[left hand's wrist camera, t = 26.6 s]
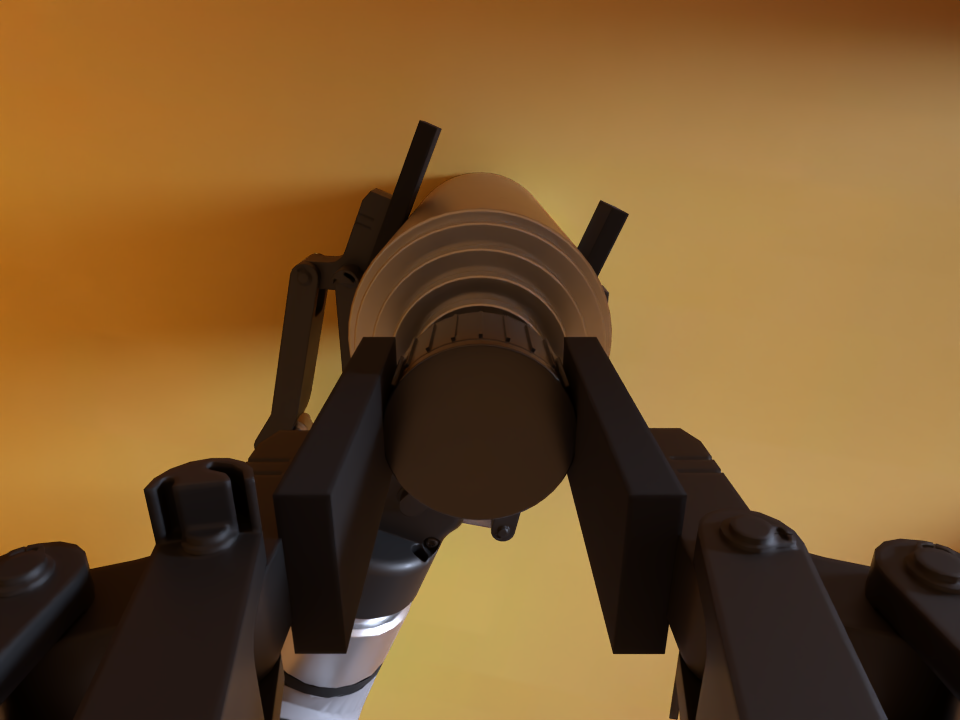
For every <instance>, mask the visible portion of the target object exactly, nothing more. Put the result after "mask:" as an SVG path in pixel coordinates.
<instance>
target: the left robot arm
mask: <svg viewBox="0 0 960 720" xmlns="http://www.w3.org/2000/svg"><path fill="white" fill-rule="evenodd" d="M396 367H397V355H396V337H363V338H362V340H361V341H360V343H359V345H358V347H357V348H356V350H355V352H354V354H353V355H352V357H351V359H350V361H349V362H348V364H347V366H346V367H345V369H344V371H343V373H342V374H341V376H340V378H339V380H338V381H337V383H336V385H335V387H334V388H333V390H332V392H331V394H330V395H329V397H328V399H327V401H326V402H325V404H324V406H323V408H322V409H321V411H320V413H319V415H318V416H317V418H316V420H315V422H314V423H313V425H312V427H311V429H310V430H279V431H278V432H276V433H275V434H273V435H271V436H270V437H268V438H267V439H265V440H264V441H262V442H261V443H259V444H258V446H257V447H256V449H255V450H254V451H253V453H252V454H251V456H250V457H249V458H248V462H246V463H245V462H243V461H239V460H235V459H231V458H209V459H203V460H198V461H192V462H188V463H186V464H183V465H180V466H177V467H174V468H171V469H169V470H168V471H166V472H164V473H162V474H161V475H159V476H157V477H156V478H154V479H153V480H152V481H151V482H150V483H149V484H148V485H147V486H146V487H145V489H144V494H145V498H146V502H147V507H148V511H149V515H150V520H151V524H152V528H153V533H154V537H155V542H156V545H155V547H154V549H153V551H152V554H151V556H148V557H145V558H141V559H137V560H133V561H128V562H123V563H118V564H113V565H108V566H103V567H98V568H93V569H90V568H89V564H88V561H87V557H86V554H85V552H84V551H83V550H82V549H81V548H80V547H79V546H77V545H76V544H71V543H65V542H49V543H38V544H33V545H28V546H27V547H21V548H18V549H15V550H12V551H10V552H9V553H7V554H5V555H2V556H0V720H280V714H281V705H282V697H283V689H284V680H285V678H284V670H283V663H282V656H281V650H282V648H283V645H284V642H285V640H286V637H287V635H288V632H289V629H290V627H291V630H292V637H293V644H294V651H295V654H346V653H347V650H348V646H349V642H350V638H351V634H352V630H353V626H354V622H355V618H356V614H357V610H358V607H359V603H360V599H361V595H362V591H363V587H364V583H365V579H366V575H367V571H368V567H369V564H370V560H371V556H372V552H373V548H374V544H375V540H376V536H377V532H378V528H379V524H380V521H381V517H382V513H383V509H384V505H385V501H386V497H387V493H388V489H389V485H390V482H391V478H392V474H393V473H392V471H391V469H390V468H389V465H388V463H387V460H386V458H385V451H384V435H383V412H384V409H385V406H386V403H387V400H388V397H389V394H390V391H391V387H390V384H391V381H392V378H393V375H394V373H395V370H396ZM563 367H564V370H565V373H566V376H567V379H568V381H569V384H570V387H571V388H570V389H569V392H570V395H571V397H572V400H573V403H574V406H575V410H576V414H577V429H576V445H575V457H574V460H573V462H572V465H571V467H570V469H569V471H568V473H567V475H568V479H569V483H570V487H571V491H572V495H573V499H574V503H575V506H576V510H577V514H578V518H579V522H580V526H581V530H582V534H583V538H584V542H585V546H586V549H587V553H588V557H589V561H590V565H591V569H592V573H593V577H594V581H595V585H596V589H597V592H598V596H599V600H600V604H601V608H602V612H603V616H604V620H605V624H606V628H607V632H608V635H609V639H610V643H611V647H612V651H613V654H665V649H666V641H667V634H668V627H669V625H670V627H671V630H672V633H673V635H674V638H675V640H676V643H677V646H678V648H679V656H678V663H677V669H676V676H675V683H674V689H673V696H672V702H671V709H670V717H669V718H670V719H676V720H677V719H678V714H679V712H680V720H960V553H958V552H956V551H953V550H952V549H950V548H948V547H945V546H942V545H939V544H933V543H932V542H927V541H920V540H909V539H896V540H890V541H885V542H883V543H882V544H881V545H880V546H878V547H877V548H876V549H875V552H874V555H873V559H872V563H871V566H865V565H860V564H855V563H850V562H845V561H840V560H835V559H830V558H825V557H822V556H818V555H814V554H810V553H808V550H807V548H806V546H805V544H804V543H803V541H802V540H801V539H800V537H799V536H798V535H797V534H796V532H795V531H794V530H792V529H791V528H789V527H788V526H786V525H785V524H783V523H782V522H781V521H779V520H777V519H774V518H772V517H770V516H767V515H765V514H762V513H760V512H755V511H750V510H749V508H748V507H747V505H746V504H745V503H744V501H743V500H742V498H741V497H740V496H739V494H738V493H737V491H736V490H735V489H734V487H733V486H732V484H731V483H730V482H729V480H728V479H727V477H726V476H725V475H724V473H721V469H720V468H719V466H718V465H717V463H716V462H715V461H714V460H712V456H711V455H710V454H709V452H708V451H707V450H706V448H705V447H704V445H703V444H702V443H701V441H699V440H698V439H696V438H695V437H693V436H692V435H690V434H688V433H687V432H685V431H684V430H682V429H681V428H648V426H647V424H646V422H645V421H644V419H643V417H642V415H641V414H640V412H639V410H638V408H637V407H636V405H635V403H634V401H633V400H632V398H631V396H630V394H629V393H628V391H627V389H626V387H625V386H624V384H623V382H622V380H621V379H620V377H619V375H618V373H617V372H616V370H615V368H614V366H613V365H612V363H611V361H610V359H609V358H608V356H607V354H606V352H605V351H604V349H603V347H602V346H601V344H600V342H599V340H598V339H597V337H564V348H563Z"/></svg>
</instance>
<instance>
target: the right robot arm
mask: <svg viewBox="0 0 960 720" xmlns="http://www.w3.org/2000/svg"><path fill="white" fill-rule="evenodd" d="M440 132H441V128H439V127H437V126H434V125H432V124H430V123H428V122H425V121H421V120H420V121H419V123H418V126H417V129H416V132H415V134H414V137H413V140H412V143H411V146H410V148H409V151H408V154H407V157H406V159H405V162H404V165H403V168H402V171H401V173H400V176H399V179H398V182H397V184H396V187H395V190H394V193H393V195H391V194H389V193H386V192H384V191H382V190H379V189H377V188H376V189H374V190H372V191H370V193H369V194H368V195H367V196H366V197H365V198H364V199H363V200H362V203H361V206H360V209H359V212H358V215H357V218H356V221H355V224H354V226H353V229H352V232H351V235H350V238H349V241H348V244H347V247H346V250H345V252H344V254H343V255H341V256H324V255H322V254H316V253H315V254H312V255H310V256H309V257H307V258H306V259H304V260H303V261H302V262H300V263H299V264H297V265H296V266H295V267H294V268H293V269H292V271H291V274H290V280H289V287H288V294H287V302H286V309H285V316H284V324H283V331H282V339H281V346H280V353H279V361H278V368H277V375H276V383H275V390H274V397H273V405H272V412H271V416H270V417H269V419H268V421H267V422H266V424H265V425H264V427H263V429H262V430H261V432H260V434H259V435H258V437H257V439H256V440H255V443H254V448H255V449H256V447H257V446H258V444H259V443H261V442H262V441H264V440H265V439H267V438H268V437H270V436H271V435H273V434H275V433H276V432H278V431H279V430H310V429H311V427H312V425H313V423H312V420H311V419H310V415H309V414H307V413H303V412H304V410H305V408H306V407H307V404H308V402H309V399H310V395H311V391H312V384H313V378H314V372H315V366H316V359H317V353H318V347H319V341H320V334H321V328H322V322H323V316H324V309H325V303H326V297H327V290H328V289H330V290H335V292H336V303H337V315H338V326H339V338H340V350H341V361H342V373H343V371H344V369H345V367H346V366H347V364H348V362H349V361H350V359H351V356H350V350H349V341H348V326H349V317H350V310H351V305H352V302H353V299H354V295H355V292H356V289H357V287H358V285H359V283H360V281H361V279H362V276H363V274H364V273H365V271H366V270H367V268H368V267H369V265H370V264H371V262H372V261H373V259H374V258H375V257H376V256H377V255H378V253H379V252H380V251H381V250H382V249H383V248H384V246H385V245H386V244H387V243H388V242H389V240H390V239H391V238H392V237H393V236H394V235H395V233H396V232H397V231H398V230H399V229H400V228H401V226H402V225H403V224H404V223H405V222H406V220H407V219H408V217H409V215H410V212H411V209H412V207H413V204H414V201H415V199H416V196H417V193H418V191H419V188H420V185H421V183H422V180H423V177H424V174H425V172H426V169H427V166H428V164H429V161H430V158H431V156H432V153H433V150H434V148H435V145H436V142H437V140H438V137H439V134H440ZM628 215H629V214H628V213H626V212H624V211H622V210H620V209H618V208H616V207H615V206H612V205H610V204H608V203H606V202H603V201H601V200H600V202H599V204H598V206H597V208H596V210H595V212H594V214H593V217H592V219H591V221H590V223H589V225H588V227H587V229H586V231H585V233H584V235H583V237H582V239H581V242H580V244H579V246H578V248H577V249H578V250H579V251H580V252H581V253H582V255H583V256H584V257H585V259H586V260H587V261H588V263H589V264H590V265H591V266H592V268H593V270H594V272H595V273H596V275H597V277H598V275H599V273H600V271H601V269H602V267H603V265H604V263H605V261H606V259H607V257H608V255H609V253H610V251H611V249H612V247H613V245H614V243H615V241H616V239H617V237H618V235H619V233H620V231H621V229H622V227H623V225H624V223H625V221H626V219H627V217H628ZM602 288H603V290H604V293H605V295H606V298H607V302H608V296H609V292H608V291H607V290H606V289H605V287H604V286H603V285H602ZM519 516H520V513H517V514H515V515H512V516H508V517H504V518H499V519H492V520H467V519H461V518H456V517H451V516H448V515H445V514H442V513H440V512H437V511H435V510H433V509H431V508H429V507H427V506H425V505H424V504H422V503H420V502H419V501H418V500H416V499H415V498H414V497H413V496H411V495H410V494H409V493H408V492H407V491H406V490H405V489H404V488H403V487H402V486H401V484H400V483H399V482H398V480H397V479H396V478H395V476H394V474H392V478H391V482H390V485H389V489H388V493H387V497H386V501H385V505H384V509H383V513H382V517H381V521H380V524H379V528H378V532H377V536H376V540H375V544H374V548H373V552H372V556H371V560H370V564H369V567H368V571H367V575H366V579H365V583H364V587H363V591H362V595H361V599H360V603H359V607H358V610H357V614H356V618H355V622H354V626H353V630H352V634H351V638H350V642H349V646H348V650H347V653H346V654H295V651H294V644H293V637H292V630H291V627H290V629H289V632H288V635H287V637H286V640H285V642H284V645H283V648H282V650H281V656H282V663H283V670H284V678H285V680H284V689H283V697H282V705H281V714H280V720H358V719H359V715H360V712H361V710H362V707H363V704H364V702H365V700H366V698H367V695H368V693H369V691H370V689H371V686H372V684H373V682H374V680H375V677H376V675H377V673H378V671H379V669H380V667H381V665H382V663H383V661H384V659H385V657H386V655H387V654H388V652H389V650H390V648H391V646H392V644H393V642H394V640H395V638H396V636H397V634H398V632H399V630H400V628H401V626H402V624H403V622H404V620H405V618H406V616H407V614H408V612H409V609H410V606H411V602H412V601H413V599H414V598H415V596H416V595H417V592H418V590H419V588H420V586H421V584H422V582H423V580H424V578H425V576H426V574H427V572H428V570H429V568H430V566H431V564H432V561H433V559H434V557H435V555H436V553H437V551H438V549H439V547H440V545H441V543H442V541H443V539H444V538H445V537H446V536H447V535H448V534H449V533H450V532H452V531H453V530H455V529H457V528H458V527H459V526H460V525H461V523H466V524H472V525H477V526H483V527H488V528H491V534H492V536H493V537H494V538H495V539H496V540H498V541H507V540H510V539H511V538H512V537H513V535H514V534H515V530H516V527H517V523H518V519H519Z"/></svg>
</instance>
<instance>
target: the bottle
mask: <svg viewBox="0 0 960 720" xmlns="http://www.w3.org/2000/svg"><path fill="white" fill-rule="evenodd" d="M479 311H483V312H485V313H495V314H499V315H504V314H506V315H507V317H510V318H513V319H516V320H518V321H520V322H522V323H524V324H526V323H527V324H529V325H530V328H532V329H533V330H534V331H536V332H537V333H538V334H539V335H540V336H541V337H542V338H543V339H545V338H546V339H547V340H548V342H549V345H550V347H551V348H552V350H553V352H554V353H555V355H556V357H557V358H558V357H560V359H561V362H562V365H563V348H564V337H597V339H598V340H599V342H600V344H601V346H602V347H603V349H604V351H605V352H606V354H607V356H608V358H609V355H610V349H611V335H612V328H611V317H610V311H609V307H608V302H607V298H606V295H605V293H604V290H603V288H602V285H601V283H600V281H599V279H598V277H597V275H596V273H595V272H594V270H593V268H592V266H591V265H590V264H589V263H588V261H587V260H586V259H585V257H584V256H583V255H582V253H581V252H580V251H579V250H578V249H577V247H576V246H575V245H574V244H573V243H572V242H571V240H570V239H569V238H568V237H567V236H566V234H565V233H564V232H563V231H562V230H561V229H560V227H559V226H558V225H557V224H556V223H555V222H554V220H553V219H552V218H551V217H550V216H549V214H548V213H547V212H546V211H545V210H544V209H543V207H542V206H541V205H540V204H539V203H538V202H537V200H536V199H535V198H534V197H533V196H532V195H531V194H530V193H529V192H528V191H527V190H526V189H525V188H523V187H522V186H521V185H519V184H518V183H516V182H514V181H513V180H511V179H508V178H506V177H503V176H500V175H496V174H492V173H483V172H481V173H469V174H463V175H460V176H457V177H454V178H452V179H450V180H447V181H445V182H444V183H442V184H441V185H439V186H438V187H436V188H435V189H434V190H433V191H432V192H431V193H430V194H429V195H428V196H427V197H426V198H425V199H424V201H423V202H422V203H421V204H420V205H419V206H418V208H417V209H416V210H415V211H414V212H413V213H412V215H411V216H410V217H409V218H408V219H407V220H406V222H405V223H404V224H403V225H402V226H401V228H400V229H399V230H398V231H397V232H396V233H395V235H394V236H393V237H392V238H391V239H390V240H389V242H388V243H387V244H386V245H385V246H384V248H383V249H382V250H381V251H380V252H379V253H378V255H377V256H376V257H375V258H374V259H373V261H372V262H371V264H370V265H369V267H368V268H367V270H366V271H365V273H364V274H363V276H362V279H361V281H360V283H359V285H358V287H357V289H356V292H355V295H354V299H353V302H352V305H351V310H350V317H349V326H348V341H349V350H350V356H351V357H352V355H353V354H354V352H355V350H356V348H357V347H358V345H359V343H360V341H361V340H362V338H363V337H396V355H397V364H398V361H399V359H400V357H401V356H404V355H405V353H406V351H407V350H408V348H409V347H410V345H411V343H412V340H413V338H414V337H416V338H417V337H418V336H419V335H421V334H422V333H423V332H424V331H425V330H427V329H428V328H430V327H431V324H432V323H435V324H436V323H438V322H440V321H442V320H444V319H447V318H449V317H453V316H454V314H458V315H460V314H466V313H475V312H479Z"/></svg>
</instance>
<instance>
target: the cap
mask: <svg viewBox="0 0 960 720" xmlns="http://www.w3.org/2000/svg"><path fill="white" fill-rule="evenodd" d="M390 387H391V391H390V394H389V397H388V400H387V403H386V406H385V409H384V412H383V435H384V451H385V458H386V460H387V463H388V465H389V468H390V469H391V471H392V473H393V474H394V476H395V478H396V479H397V480H398V482H399V483H400V484H401V486H402V487H403V488H404V489H405V490H406V491H407V492H408V493H409V494H410V495H411V496H413V497H414V498H415V499H416V500H418V501H419V502H420V503H422V504H424V505H425V506H427V507H429V508H431V509H433V510H435V511H437V512H440V513H442V514H445V515H448V516H451V517H456V518H461V519H467V520H492V519H499V518H504V517H508V516H512V515H515V514H517V513H520V512H523V511H525V510H527V509H529V508H531V507H533V506H535V505H536V504H538V503H539V502H540V501H542V500H543V499H545V498H546V497H547V496H548V495H549V494H550V493H552V492H553V491H554V490H555V489H556V487H557V486H558V485H559V484H560V483H561V482H562V480H563V479H564V477H565V476H566V474H567V473H568V471H569V469H570V467H571V465H572V462H573V460H574V457H575V445H576V429H577V414H576V410H575V406H574V403H573V400H572V397H571V395H570V392H569V389H570V388H571V387H570V384H569V381H568V379H567V376H566V373H565V370H564V367H563V365H562V362H561V359H560V357H558V358H557V357H556V355H555V353H554V352H553V350H552V348H551V347H550V345H549V342H548V340H547V339H546V338H545V339H543V338H542V337H541V336H540V335H539V334H538V333H537V332H536V331H534V330H533V329H532V328H530V325H529V324H527V323H526V324H524V323H522V322H520V321H518V320H516V319H513V318H510V317H507V315H506V314H504V315H499V314H495V313H485V312H483V311H479V312H475V313H466V314H460V315H458V314H454V316H453V317H449V318H447V319H444V320H442V321H440V322H438V323H436V324H435V323H432V324H431V327H430V328H428V329H427V330H425V331H424V332H423V333H422V334H421V335H419V336H418V337H417V338H416V337H414V338H413V340H412V343H411V345H410V347H409V348H408V350H407V351H406V353H405V355H404V356H401V357H400V359H399V361H398V364H397V367H396V370H395V373H394V375H393V378H392V381H391V384H390Z"/></svg>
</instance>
